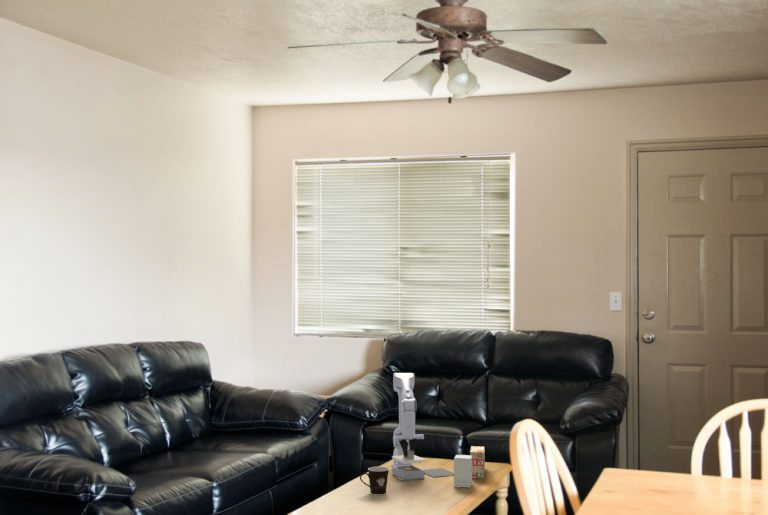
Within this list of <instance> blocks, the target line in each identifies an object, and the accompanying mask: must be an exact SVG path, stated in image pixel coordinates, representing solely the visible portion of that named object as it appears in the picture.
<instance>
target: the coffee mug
mask: <svg viewBox="0 0 768 515" xmlns="http://www.w3.org/2000/svg"><path fill="white" fill-rule="evenodd" d="M389 470H390V469H389V467H386V466H372V467H368V468H367V471H368V473H367V472H363V473H361V474H360V476H359V479H360V481H361V483H362V484H364V485H365V486H366V487H369V490H370V494H371V493H372V494H371V495H374V494H383V495H385V494H384V493H386V494H387V486H388V478H389ZM364 475H366V476H367V477H368V478H369V480H368V481H369V482H368V483H369V484H368V483H366V482H365V481H363V479H362V477H363V476H364Z"/></svg>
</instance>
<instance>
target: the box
mask: <svg viewBox="0 0 768 515" xmlns="http://www.w3.org/2000/svg"><path fill="white" fill-rule="evenodd" d="M424 470H425V469H423V468H420V467H419V466H416V465H414V464H412V465H403V466H393V465H392V476H393V475H394V476H393V477H395V476H396V477H395V478H397V477H398V478H397V479H399V478H400V479H399V480H401V479H402V480H401V481H402V482H409V481H410V480H412V481H418V480H419V481H420V480H425V473H424Z"/></svg>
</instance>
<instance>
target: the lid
mask: <svg viewBox="0 0 768 515" xmlns="http://www.w3.org/2000/svg"><path fill="white" fill-rule="evenodd" d="M391 458H392V460H393V459H395V460H397V461H399V462H402V463H404V464H411V463H412V464H420V463H425V462H426V459H425V458H422V457H420V456H418V455H415V451H412V450H410V449H407V457H405V456H404V454H403V455H400V456H393V455H392V456H391Z"/></svg>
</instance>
